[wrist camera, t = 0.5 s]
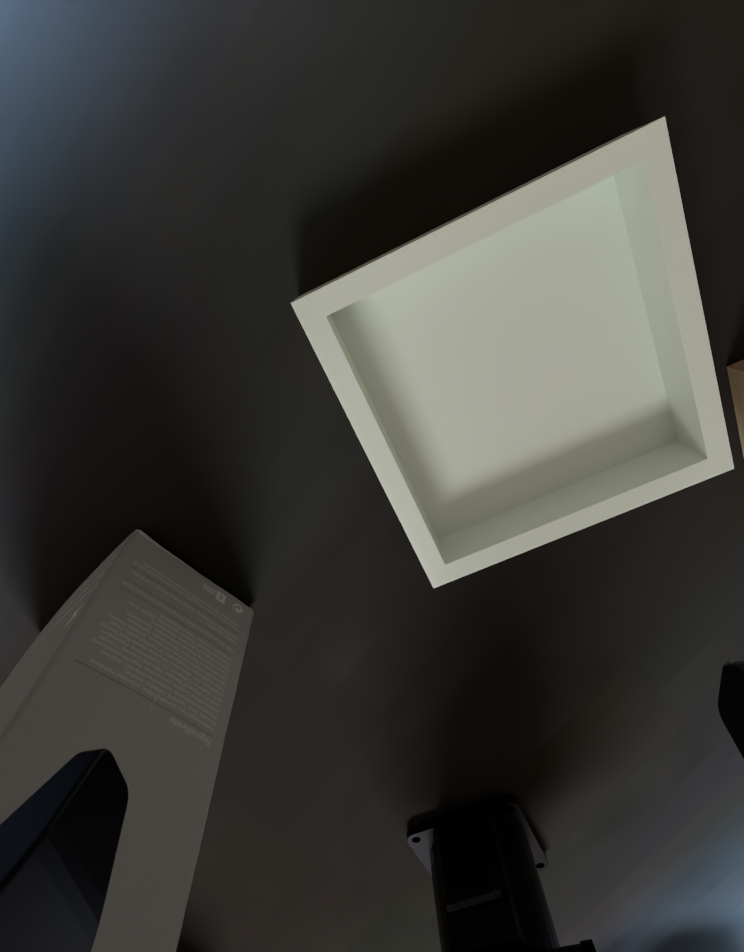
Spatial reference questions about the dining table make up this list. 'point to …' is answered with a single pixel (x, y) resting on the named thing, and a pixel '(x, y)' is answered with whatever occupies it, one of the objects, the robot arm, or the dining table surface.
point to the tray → (530, 360)
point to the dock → (738, 395)
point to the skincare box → (133, 721)
